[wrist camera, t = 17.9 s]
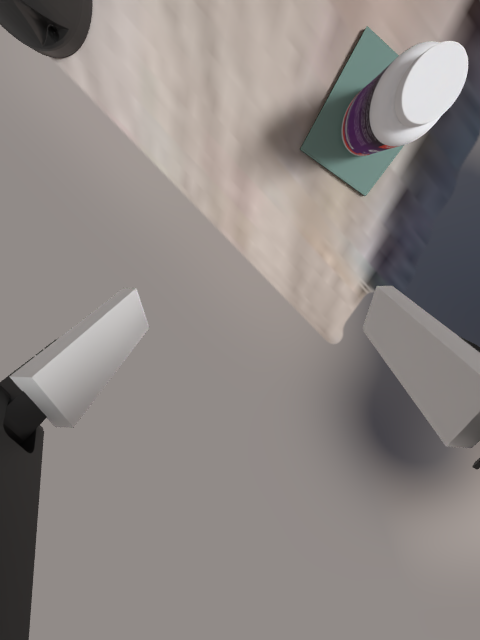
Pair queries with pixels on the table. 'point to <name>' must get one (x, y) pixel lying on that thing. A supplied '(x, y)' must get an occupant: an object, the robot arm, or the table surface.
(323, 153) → the mat
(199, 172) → the table surface
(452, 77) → the pill bottle
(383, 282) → the table surface
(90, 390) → the robot arm
